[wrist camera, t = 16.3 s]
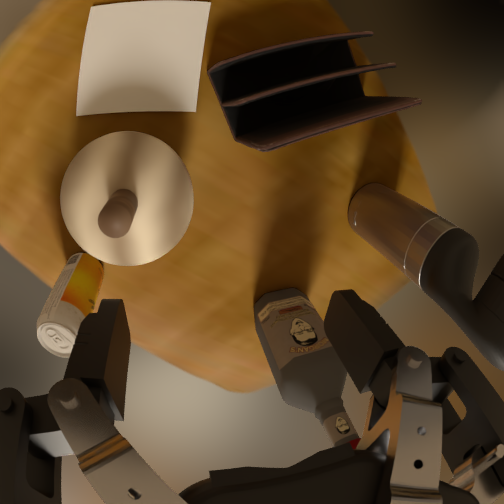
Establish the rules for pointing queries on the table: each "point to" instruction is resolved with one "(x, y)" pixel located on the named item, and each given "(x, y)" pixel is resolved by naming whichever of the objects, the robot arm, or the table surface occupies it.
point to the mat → (142, 57)
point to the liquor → (304, 360)
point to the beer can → (69, 303)
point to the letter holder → (297, 91)
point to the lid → (127, 198)
